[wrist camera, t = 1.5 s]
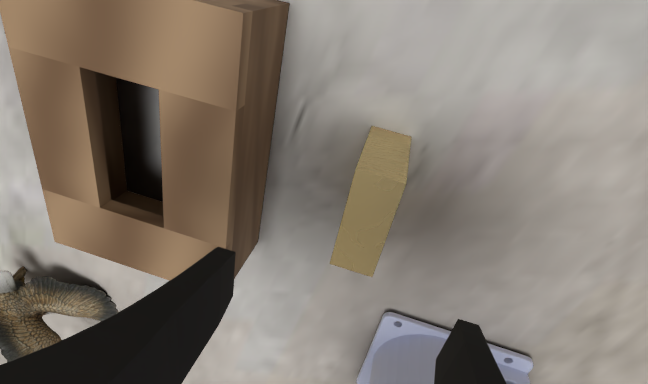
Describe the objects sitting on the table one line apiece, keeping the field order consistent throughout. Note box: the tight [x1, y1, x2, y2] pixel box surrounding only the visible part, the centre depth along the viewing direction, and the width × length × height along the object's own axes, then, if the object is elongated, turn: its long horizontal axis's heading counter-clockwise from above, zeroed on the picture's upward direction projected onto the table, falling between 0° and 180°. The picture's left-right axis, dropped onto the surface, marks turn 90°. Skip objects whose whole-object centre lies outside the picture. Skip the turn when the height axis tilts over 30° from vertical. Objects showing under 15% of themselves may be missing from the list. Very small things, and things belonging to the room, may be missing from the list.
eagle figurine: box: [0, 267, 118, 363], centre depth 30 cm, size 8×7×9 cm
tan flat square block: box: [330, 126, 411, 277], centre depth 18 cm, size 2×5×5 cm, turn 168°
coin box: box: [0, 0, 289, 280], centre depth 19 cm, size 10×14×5 cm
